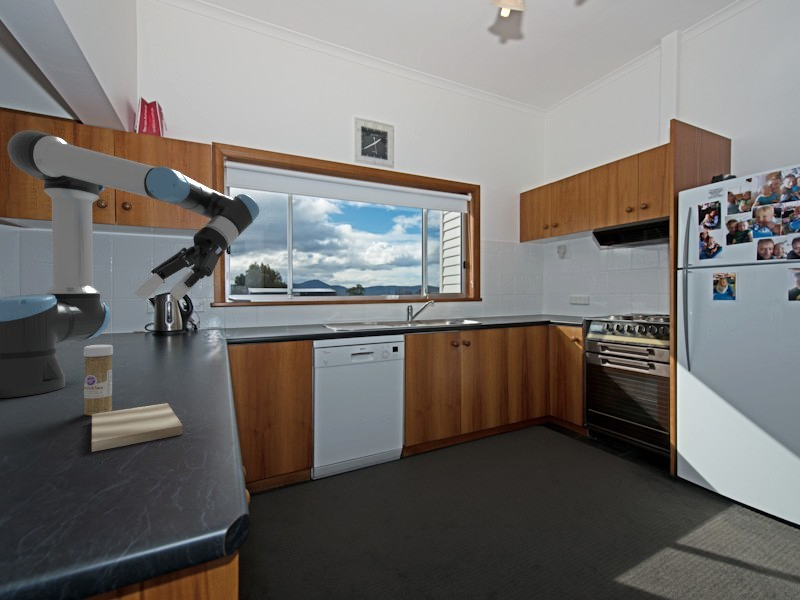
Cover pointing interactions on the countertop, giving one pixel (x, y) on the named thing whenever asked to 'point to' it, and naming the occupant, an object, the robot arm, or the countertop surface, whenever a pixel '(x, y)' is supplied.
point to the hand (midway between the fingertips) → (156, 296)
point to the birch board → (133, 426)
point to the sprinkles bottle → (98, 379)
